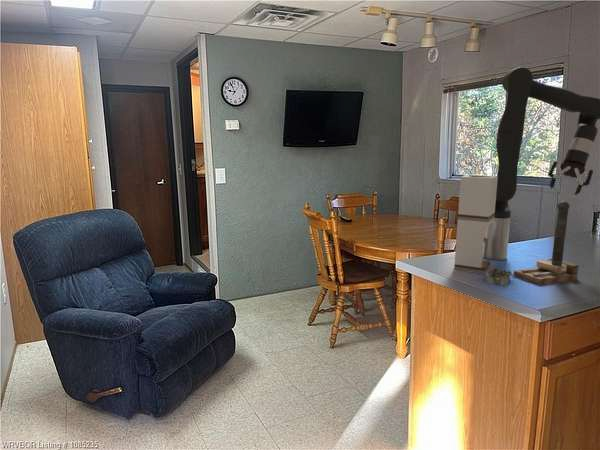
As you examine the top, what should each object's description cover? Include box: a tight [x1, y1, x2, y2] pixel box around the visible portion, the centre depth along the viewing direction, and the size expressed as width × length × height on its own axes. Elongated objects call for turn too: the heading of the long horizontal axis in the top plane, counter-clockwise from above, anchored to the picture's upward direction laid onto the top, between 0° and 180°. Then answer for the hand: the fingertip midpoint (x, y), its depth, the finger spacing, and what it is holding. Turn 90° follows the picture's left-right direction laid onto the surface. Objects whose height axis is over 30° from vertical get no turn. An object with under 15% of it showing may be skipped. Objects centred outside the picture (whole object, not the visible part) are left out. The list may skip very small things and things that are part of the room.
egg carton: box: [485, 265, 512, 286], centre depth 157 cm, size 11×8×4 cm
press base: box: [513, 258, 579, 286], centre depth 160 cm, size 18×11×5 cm, turn 111°
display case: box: [453, 174, 498, 275], centre depth 168 cm, size 11×11×35 cm
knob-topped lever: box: [535, 200, 570, 272], centre depth 158 cm, size 5×8×24 cm, turn 21°
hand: (563, 191), depth 175 cm, fingers open, 8 cm apart
